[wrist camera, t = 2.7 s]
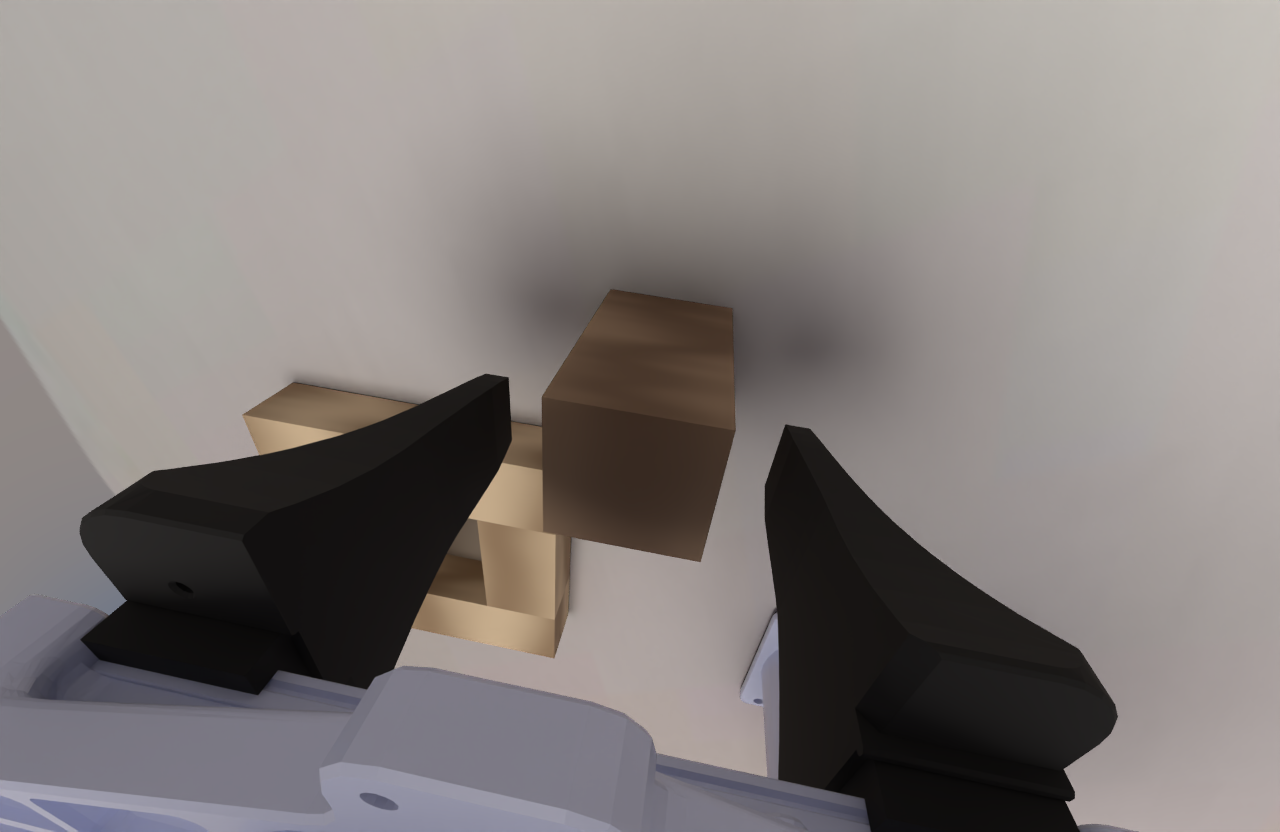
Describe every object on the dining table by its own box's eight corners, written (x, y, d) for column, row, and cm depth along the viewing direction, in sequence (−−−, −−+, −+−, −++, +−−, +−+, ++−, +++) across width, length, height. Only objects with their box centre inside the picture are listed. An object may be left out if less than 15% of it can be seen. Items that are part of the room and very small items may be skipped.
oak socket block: (575, 432, 19) (556, 472, 17) (568, 613, 26) (554, 658, 24) (293, 382, 20) (242, 414, 18) (357, 570, 26) (325, 609, 24)
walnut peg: (732, 308, 15) (735, 430, 10) (709, 411, 18) (700, 562, 12) (610, 289, 16) (541, 397, 10) (603, 393, 18) (543, 531, 12)
